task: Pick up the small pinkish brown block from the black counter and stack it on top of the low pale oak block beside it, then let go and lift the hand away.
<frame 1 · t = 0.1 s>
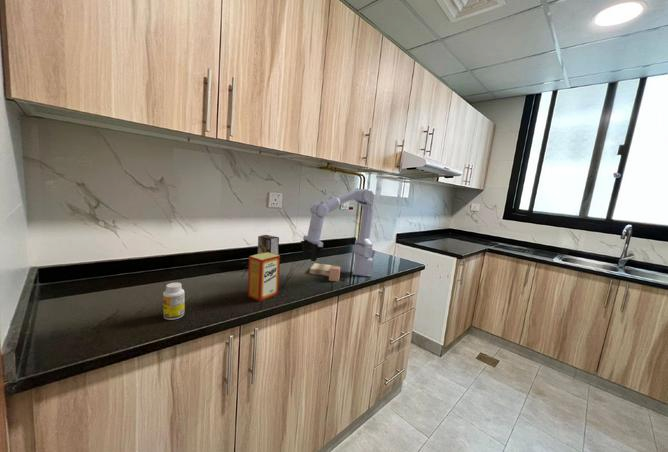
hand: (309, 258, 117), 10 cm above the counter, tool pointing down, fingers open, 7 cm apart
baking soda box: (263, 295, 100), on the counter
oak block: (321, 272, 133), on the counter
grey tall block: (267, 267, 133), on the counter
supplement bottle: (174, 316, 79), on the counter
pinkish brown block: (334, 279, 123), on the counter
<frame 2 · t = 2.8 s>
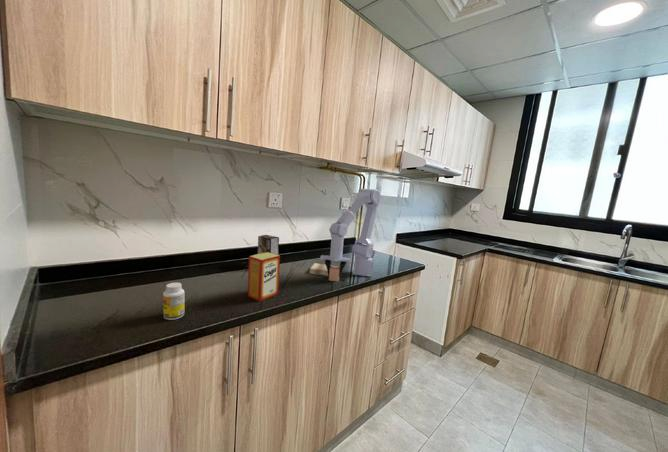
hand: (334, 276, 123), 2 cm above the counter, tool pointing down, fingers closed on pinkish brown block, 4 cm apart
pinkish brown block: (334, 279, 123), on the counter, touching gripper
everything else where it was.
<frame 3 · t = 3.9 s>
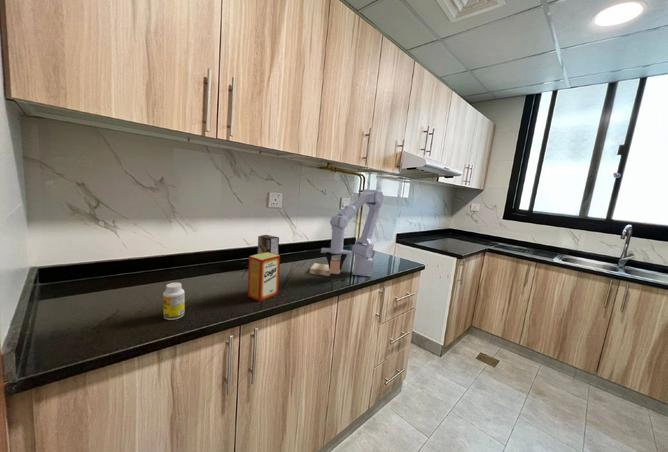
hand: (335, 268, 122), 5 cm above the counter, tool pointing down, fingers closed on pinkish brown block, 4 cm apart
pinkish brown block: (334, 272, 122), point 4 cm above the counter, touching gripper
everything else where it was.
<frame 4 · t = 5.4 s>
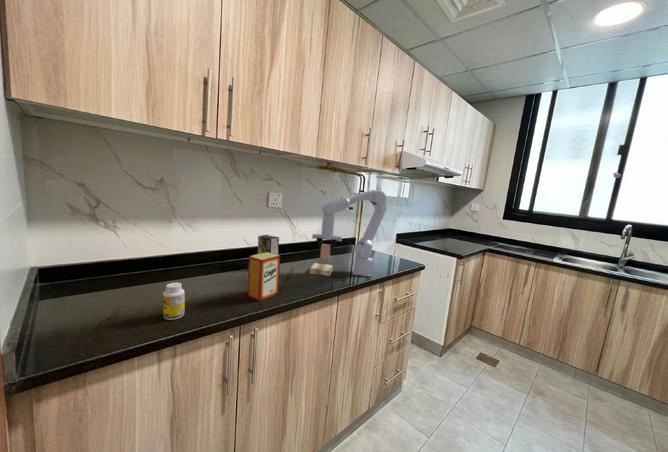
hand: (325, 253, 129), 10 cm above the counter, tool pointing down, fingers closed on pinkish brown block, 4 cm apart
pinkish brown block: (325, 257, 129), point 9 cm above the counter, touching gripper
everything else where it was.
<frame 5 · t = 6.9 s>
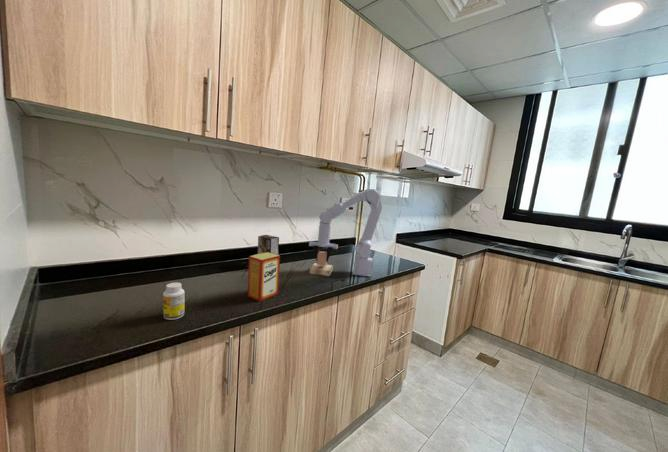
hand: (322, 260, 132), 6 cm above the counter, tool pointing down, fingers closed on pinkish brown block, 4 cm apart
pinkish brown block: (322, 264, 132), point 4 cm above the counter, touching gripper
everything else where it was.
when the fingers open (6 cm above the counter, at t = 8.1 s): pinkish brown block drops 1 cm, point 2 cm above the counter.
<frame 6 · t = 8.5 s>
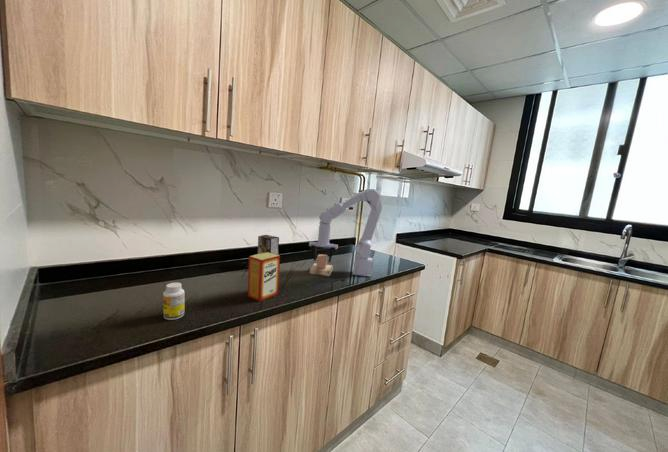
hand: (322, 261, 132), 6 cm above the counter, tool pointing down, fingers open, 7 cm apart
pinkish brown block: (321, 266, 132), point 2 cm above the counter
everything else where it was.
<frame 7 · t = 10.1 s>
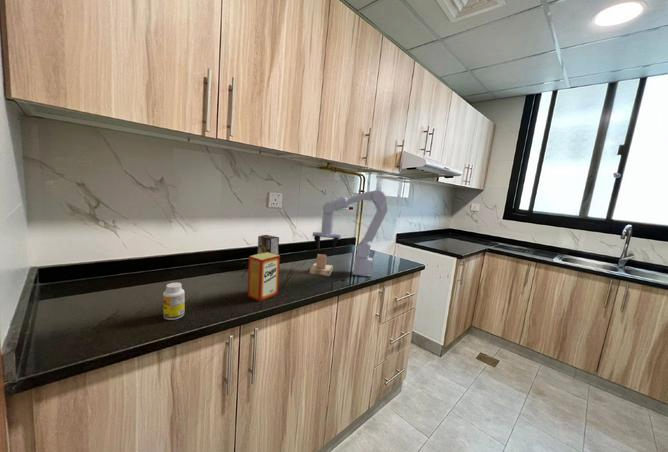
hand: (325, 251, 134), 10 cm above the counter, tool pointing down, fingers open, 7 cm apart
oak block: (321, 272, 133), on the counter, touching pinkish brown block
pinkish brown block: (321, 266, 132), point 3 cm above the counter, touching oak block
everything else where it was.
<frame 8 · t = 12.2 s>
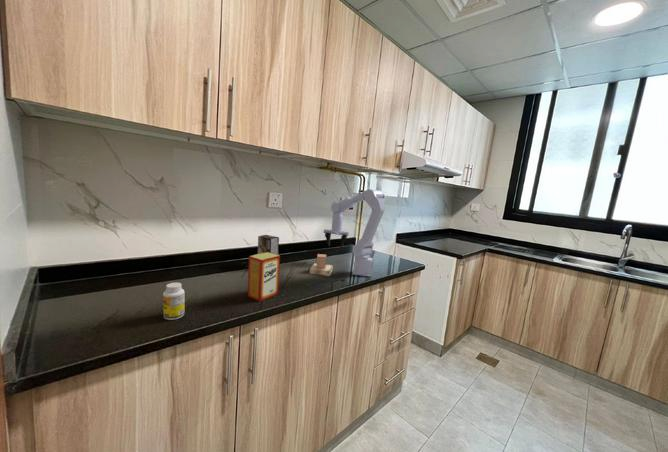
hand: (335, 246, 148), 10 cm above the counter, tool pointing down, fingers open, 7 cm apart
nothing on the counter moved.
at the end: pinkish brown block 0.4 cm off-centre on the oak block, point 3.0 cm above the oak block's base; pinkish brown block tilted 0°; the gripper is holding nothing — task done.
